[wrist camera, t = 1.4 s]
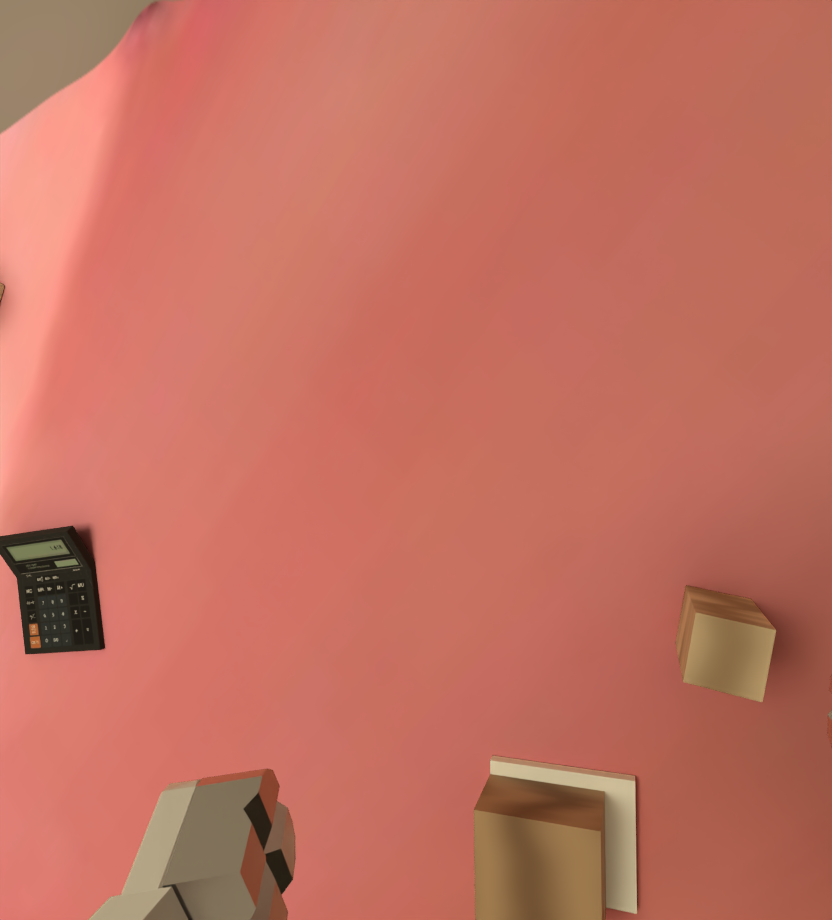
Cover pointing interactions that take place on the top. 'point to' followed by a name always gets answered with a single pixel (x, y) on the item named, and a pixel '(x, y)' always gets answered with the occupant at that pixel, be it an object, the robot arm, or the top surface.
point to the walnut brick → (539, 851)
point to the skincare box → (1, 289)
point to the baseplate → (616, 818)
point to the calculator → (55, 590)
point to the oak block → (724, 643)
